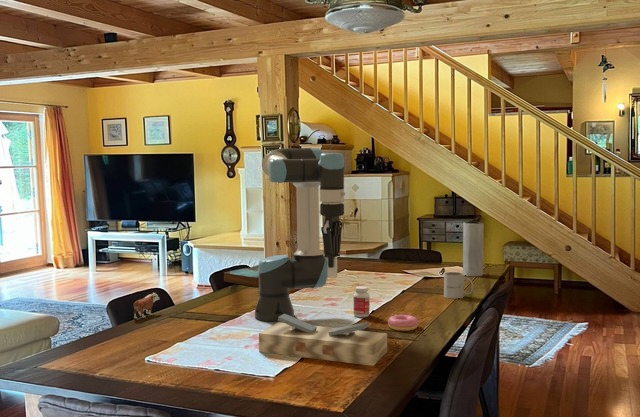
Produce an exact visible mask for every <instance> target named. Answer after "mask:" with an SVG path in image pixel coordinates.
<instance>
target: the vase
mask: <svg viewBox="0 0 640 417" xmlns="http://www.w3.org/2000/svg"><path fill="white" fill-rule="evenodd" d="M462 224H463V225H462V227H463V228H462V230H463V231H462V233H463V234H462V273H464V276H465V275H466V276H465V277H482V276H483V275H484V230H485V229H484V222H483V221H476V220H474V221H470V220H469V221H464V222H463V223H462Z"/></svg>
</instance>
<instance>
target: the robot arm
mask: <svg viewBox="0 0 640 417" xmlns="http://www.w3.org/2000/svg"><path fill="white" fill-rule="evenodd" d="M261 168H262V170H263V172H264V173H265V175H266V176H268V178H269V179H268V180H269V182H270V183H274V184H275V183H278V184H283V183H287V184H288V183H292V185H293V186H294V187H295V188H296V226H297V229H296V230H297V231H296V232H297V234H296V236H297V249H296V251H295V252H294V253H293V258H290V257H289V255H288V254H279V255H278V254H275V255H270V256H267V257H264V258H262V259H260V261H259V262H258V269H259V271H258V273H259V287H258V299H257V303H256V306H255V310H254V318H255V320H258V321H263V322H279V321H278V317H279V316H281V315H283V314H287V315H289V316H291V317H294V318H295V309H294V306H293V303H292V300H291V298H290V290H298V289H299V290H301V289H316V288H318V289H319V288H323V287H324V286H325V285H326V283H327V280H328V278H332V279H336V278H338V257H340V256H341V254H340V253H341V243H342V230H343V226H344V224H343V222H341V221H340V220H341V219H340V217H341V216H344V214H345V204H344V201H345V196H346V192H345V158H344V154H343V153H341V152H339V153H338V152H329V153H328V152H325V153H324V152H323V151H322V149H321V148H315V147H302V148H301V147H297V148H285V147H284V148H278V149H274V150H272V151H269V152H268V153H266V154H265V155H264V157H263V158H262V160H261ZM320 216H323V217H324V222H323V226H321V228H320ZM320 231H321V235H322V236H321V237H322V243H323V251H322V250H321V247H320V245H321V244H320V243H321V242H320Z"/></svg>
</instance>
